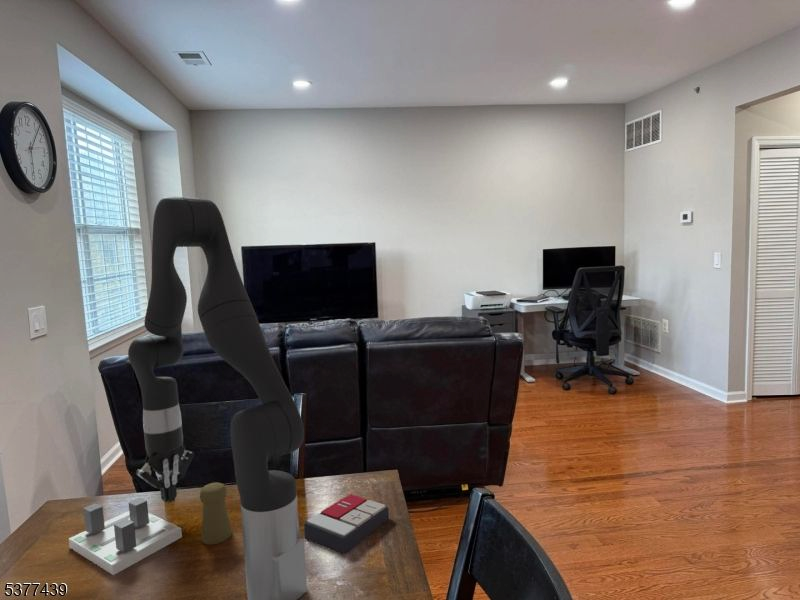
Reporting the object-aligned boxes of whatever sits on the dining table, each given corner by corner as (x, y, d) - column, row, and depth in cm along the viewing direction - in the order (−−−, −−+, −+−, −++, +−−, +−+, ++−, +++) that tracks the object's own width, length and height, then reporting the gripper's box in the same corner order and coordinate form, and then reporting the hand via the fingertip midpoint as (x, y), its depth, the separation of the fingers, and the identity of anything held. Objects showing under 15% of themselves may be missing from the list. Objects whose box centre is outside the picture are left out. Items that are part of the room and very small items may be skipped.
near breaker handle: (136, 546, 97) (134, 522, 96) (124, 553, 95) (121, 528, 94) (128, 542, 98) (126, 518, 98) (116, 548, 96) (113, 524, 96)
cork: (221, 545, 100) (217, 493, 99) (194, 543, 101) (190, 491, 100) (237, 528, 106) (233, 479, 105) (211, 526, 107) (207, 477, 106)
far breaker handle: (104, 529, 103) (102, 506, 103) (92, 535, 101) (90, 511, 101) (98, 525, 105) (95, 502, 104) (85, 531, 103) (83, 508, 102)
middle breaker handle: (149, 523, 105) (147, 500, 104) (137, 528, 103) (135, 505, 102) (141, 519, 106) (139, 497, 106) (130, 524, 105) (128, 502, 104)
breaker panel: (182, 537, 104) (181, 527, 103) (113, 575, 92) (112, 564, 92) (137, 515, 113) (136, 506, 113) (69, 547, 101) (68, 538, 101)
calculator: (389, 503, 108) (344, 534, 95) (389, 523, 108) (344, 556, 96) (350, 491, 114) (303, 519, 101) (350, 509, 114) (303, 539, 102)
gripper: (142, 439, 101) (150, 520, 103) (200, 419, 112) (206, 492, 114) (123, 432, 105) (130, 510, 107) (180, 414, 116) (186, 484, 118)
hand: (169, 501), depth 110 cm, fingers closed
